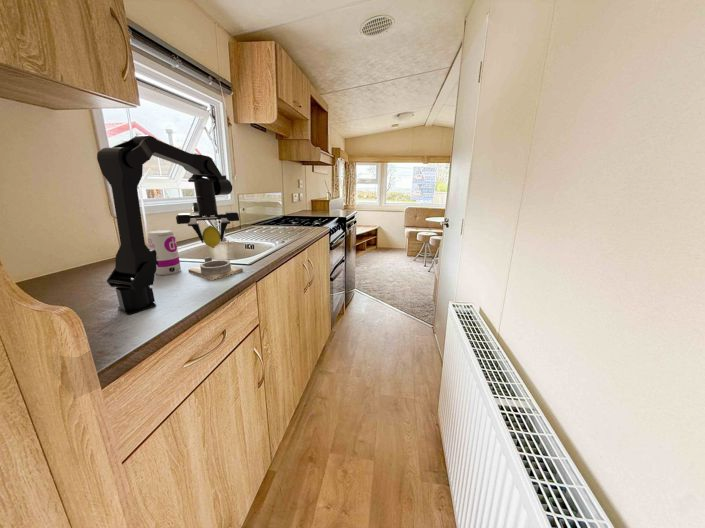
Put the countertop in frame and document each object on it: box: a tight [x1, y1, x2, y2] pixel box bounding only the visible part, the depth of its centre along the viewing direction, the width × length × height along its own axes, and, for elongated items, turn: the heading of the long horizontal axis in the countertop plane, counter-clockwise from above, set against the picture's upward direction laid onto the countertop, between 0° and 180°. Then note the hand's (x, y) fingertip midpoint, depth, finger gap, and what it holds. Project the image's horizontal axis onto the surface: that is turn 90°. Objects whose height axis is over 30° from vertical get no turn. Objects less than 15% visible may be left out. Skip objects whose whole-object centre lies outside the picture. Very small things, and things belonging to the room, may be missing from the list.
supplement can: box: [146, 229, 182, 276], centre depth 99 cm, size 8×8×15 cm
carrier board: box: [188, 256, 244, 281], centre depth 102 cm, size 12×15×4 cm
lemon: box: [202, 225, 221, 249], centre depth 96 cm, size 6×6×8 cm
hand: (212, 242), depth 97 cm, fingers closed on lemon, 5 cm apart
